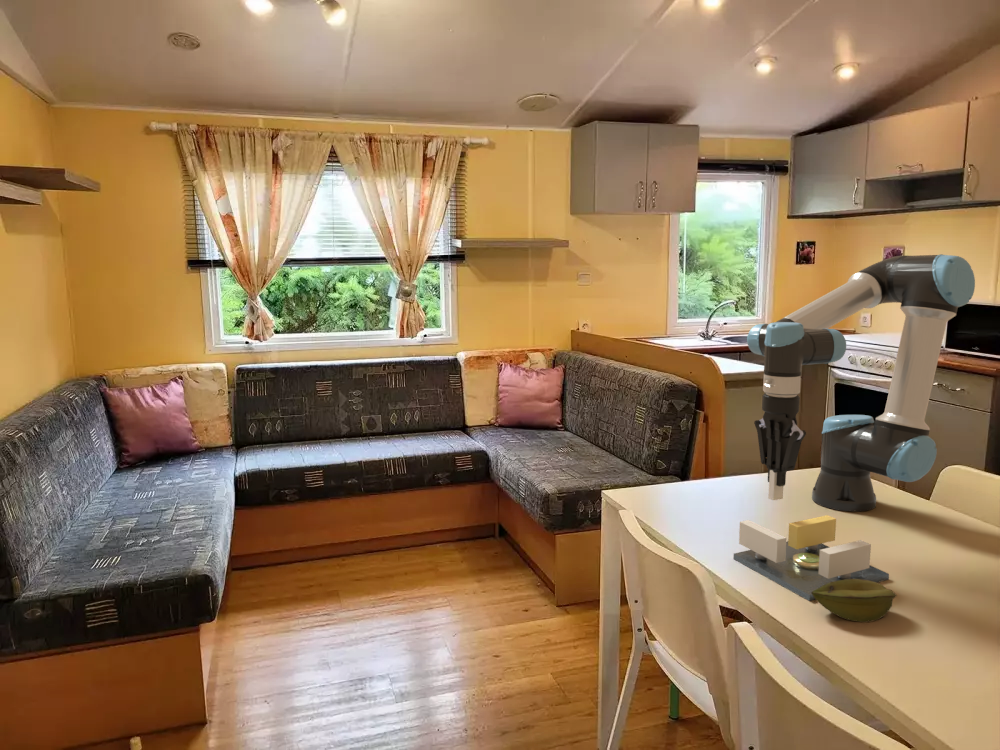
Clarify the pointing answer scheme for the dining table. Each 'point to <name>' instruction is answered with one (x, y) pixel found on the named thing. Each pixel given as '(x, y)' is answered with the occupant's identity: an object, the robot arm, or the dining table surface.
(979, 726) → the dining table surface
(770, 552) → the white crossbar plank
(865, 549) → the white brick piece
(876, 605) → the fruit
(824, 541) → the yellow lintel plank
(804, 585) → the base
